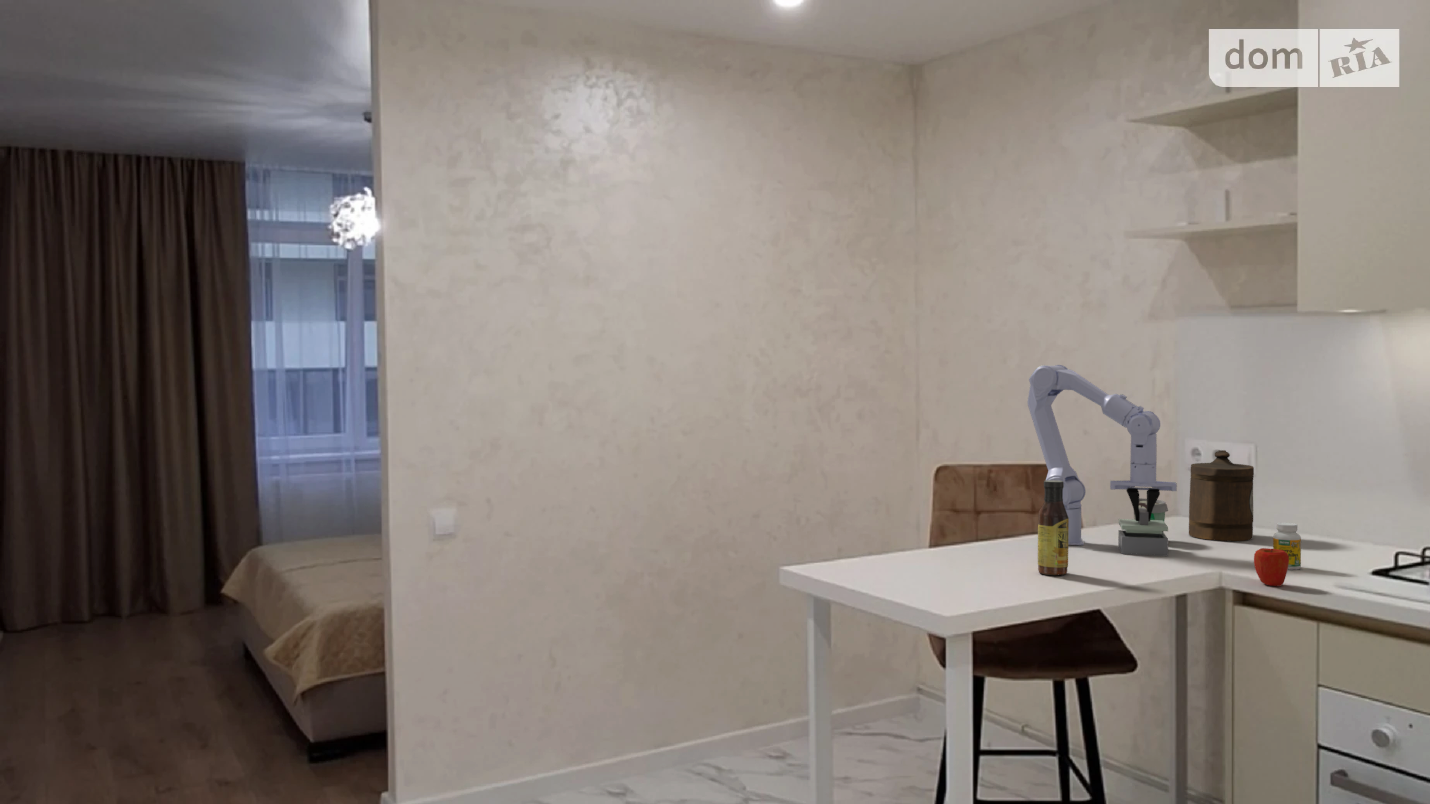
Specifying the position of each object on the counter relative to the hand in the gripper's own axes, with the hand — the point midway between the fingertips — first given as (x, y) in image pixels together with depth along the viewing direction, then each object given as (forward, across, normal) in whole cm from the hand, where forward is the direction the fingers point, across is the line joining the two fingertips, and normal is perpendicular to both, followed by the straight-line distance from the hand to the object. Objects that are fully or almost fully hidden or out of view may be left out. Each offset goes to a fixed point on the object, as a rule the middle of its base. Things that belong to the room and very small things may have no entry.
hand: (1142, 520), depth 261 cm
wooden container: (+8, +21, +26) cm, 34 cm away
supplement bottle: (+7, +28, -14) cm, 32 cm away
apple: (+7, +21, -34) cm, 41 cm away
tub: (+7, 0, 0) cm, 7 cm away
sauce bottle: (+8, -21, -32) cm, 39 cm away
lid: (+2, 0, 0) cm, 2 cm away
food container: (+8, +4, +15) cm, 17 cm away
